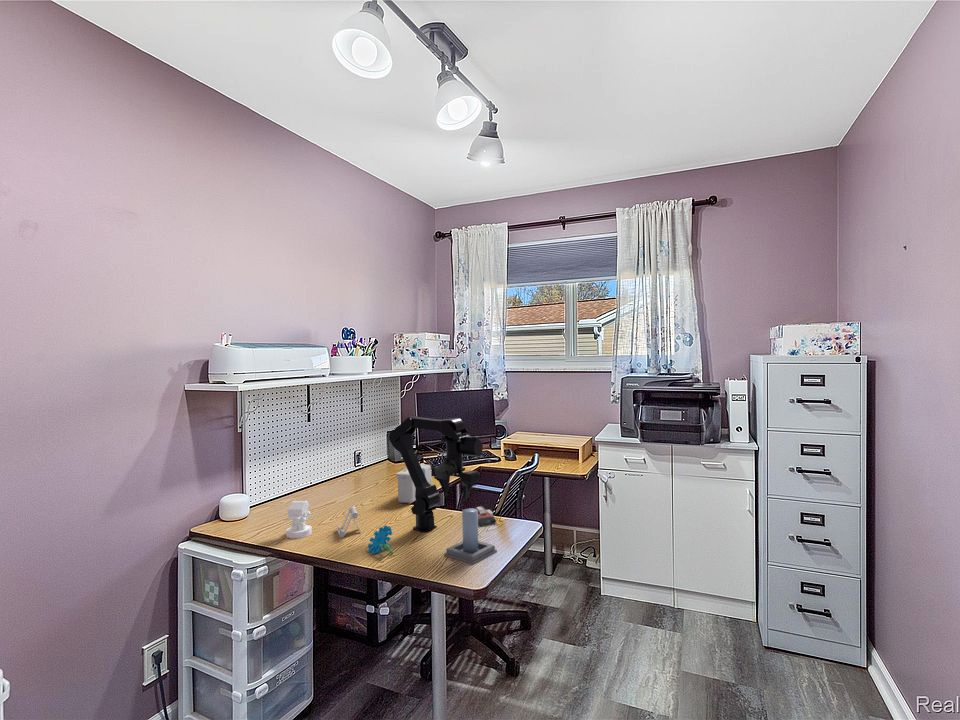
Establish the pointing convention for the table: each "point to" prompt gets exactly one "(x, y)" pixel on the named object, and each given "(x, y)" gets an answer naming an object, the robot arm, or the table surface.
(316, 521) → the table surface
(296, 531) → the character figurine
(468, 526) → the blue-grey rounded knob
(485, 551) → the grey square recessed dock
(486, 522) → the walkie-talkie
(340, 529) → the portable electronic device stand
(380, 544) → the gear
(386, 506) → the table surface
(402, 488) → the stereo radio cassette player
